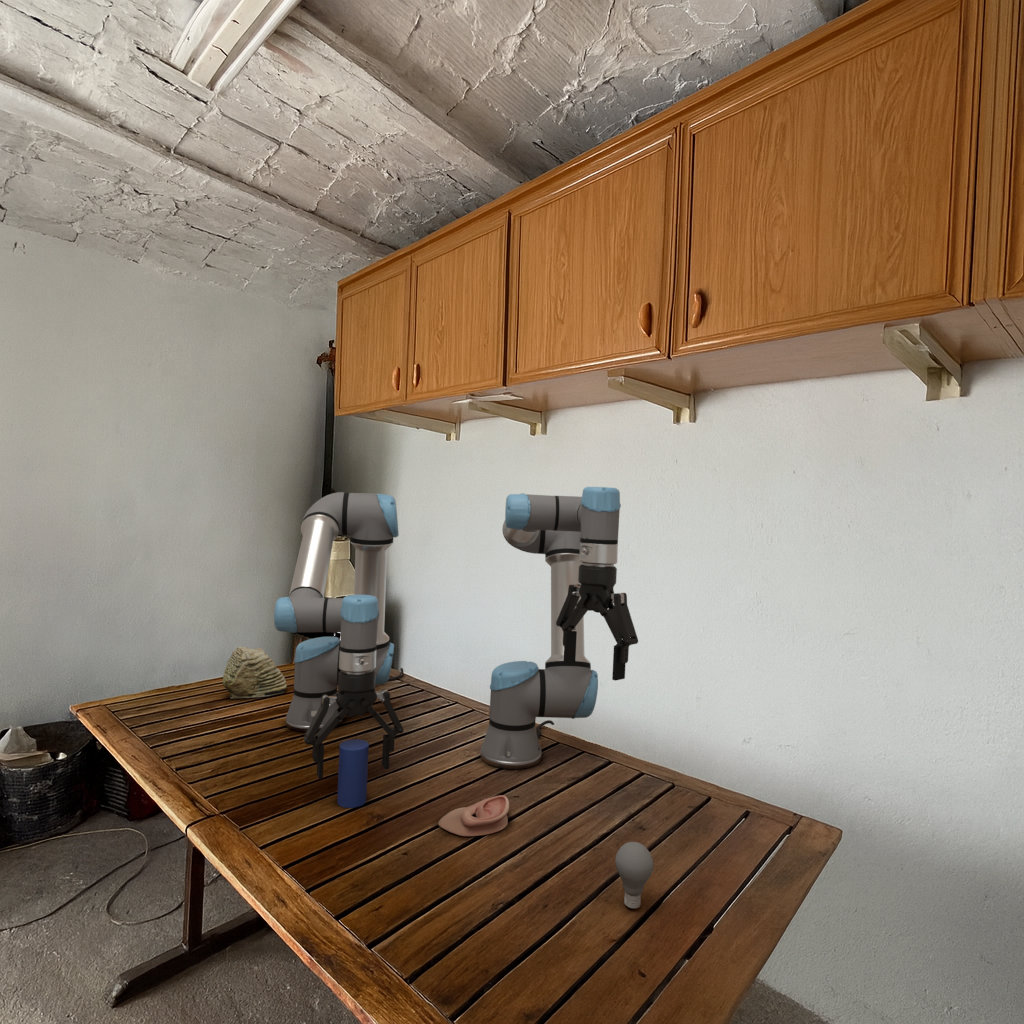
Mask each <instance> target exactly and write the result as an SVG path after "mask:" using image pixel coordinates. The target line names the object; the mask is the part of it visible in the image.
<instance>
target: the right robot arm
mask: <svg viewBox="0 0 1024 1024" xmlns="http://www.w3.org/2000/svg"><path fill="white" fill-rule="evenodd" d="M505 501H506V502H505V508H504V509H505V513H504V520H503V524H502V535H503V538H504V539H505V542H507V544H509V546H511V547H513V548H515V549H517V550H519V551H521V552H524V553H529V554H533V555H535V554H537V555H544V556H545V557H544V558H545V559H544V560H545V563H547V565H548V566H549V567H550V634H551V635H550V645H551V646H550V657H548V659H547V660H546V661H545V663H544V668H539V666H538V664H537V663H536V662H534V661H527V660H516V661H515V660H514V661H508V662H505V663H501V664H499V665H496V667H495V668H493V670H492V672H491V676H490V684H489V689H490V699H489V714H488V717H489V718H488V727H487V730H486V733H485V736H484V739H483V742H482V744H481V746H480V755H479V756H480V759H481V761H483V762H484V763H486V764H487V765H490V766H492V767H495V768H499V769H503V770H504V769H505V770H524V769H529V768H532V767H534V766H537V765H538V764H539V763H541V760H542V747H541V745H540V739H539V737H541V736H542V734H543V733H542V730H541V728H542V727H543V726H545V725H548V724H550V725H551V726H554V725H555V723H554V721H553V720H550V719H547V720H544V721H543V722H541V723H539V724H538V725H537V726H536V719H537V718H551V719H552V718H554V719H555V718H557V719H558V718H559V719H572V720H575V719H585V718H586V719H587V718H589V717H590V716H592V714H593V713H594V710H595V707H596V703H597V697H598V691H599V679H598V678H599V677H598V676H599V675H598V672H597V671H596V670H594V669H592V665H591V664H592V663H591V661H590V660H589V659H588V658H587V657H586V656H585V617H584V616H585V615H586V614H587V613H588V611H589V612H594V613H597V614H598V613H600V614H599V615H600V616H601V617H603V618H604V620H605V623H606V624H607V626H608V628H609V630H610V633H611V635H612V636H613V638H614V640H615V642H616V644H615V645H613V653H612V655H613V657H612V675H611V676H612V677H611V679H612V681H615V682H616V681H620V680H625V679H626V664H628V662H629V653H630V652H629V651H630V646H632V645H636V644H638V643H639V638H638V635H637V632H636V629H635V625H634V622H633V619H632V616H631V612H630V609H629V606H628V595H627V593H626V592H616V593H615V591H614V587H615V585H616V584H617V574H618V573H617V572H618V568H617V567H616V566H615V565H617V564H618V552H619V544H618V543H619V527H620V511H621V493H620V490H619V489H618V488H616V487H606V486H586V487H584V488H583V490H582V494H581V496H574V495H572V496H571V495H547V494H528V493H527V494H526V493H524V492H523V493H510V494H508V495H507V496H506V498H505Z"/></svg>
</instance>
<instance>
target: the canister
mask: <svg viewBox="0 0 1024 1024" xmlns="http://www.w3.org/2000/svg"><path fill="white" fill-rule="evenodd" d="M369 746H370V744H369V742H368V741H367V740H364V739H358V738H356V739H355V738H354V739H347V740H344V741H342V742H340V743H339V747H338V748H339V749H338V771H337V772H338V773H337V775H338V776H337V798H336V799H337V800H336V802H337V805H338V806H339V807H341V808H345V809H355V808H359V807H361V806H363V805H365V804H366V802H367V800H368V799H367V797H368V796H367V795H368V772H369V771H368V770H369V750H370V749H369V748H370V747H369Z"/></svg>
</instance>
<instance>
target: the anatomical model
mask: <svg viewBox="0 0 1024 1024" xmlns="http://www.w3.org/2000/svg"><path fill="white" fill-rule="evenodd" d="M509 810H510V801H509V798H508V797H507V796H506V795H504V794H502V795H501V794H500V795H495V796H491V797H488V798H485V799H482V800H481V801H478V802H476V803H474V804H472V805H469V806H466V807H464V806H463V807H459V808H455V809H453V810H450V811H449V812H447V813H446V814H445V815H444V816H442V817H441V818H440V819H439V821H438V822H437V825H438V826H439V827H440V828H442V829H443V830H445V831H447V832H448V833H451V834H454V835H457V836H460V837H478V836H485V835H490V834H495V833H497V832H500V831H502V830H504V829H505V828H506V827H507V826H508V824H509V823H508V822H509V821H508V820H509V819H508V813H509Z"/></svg>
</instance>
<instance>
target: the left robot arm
mask: <svg viewBox="0 0 1024 1024" xmlns="http://www.w3.org/2000/svg"><path fill="white" fill-rule="evenodd" d="M300 533H301V536H302V537H301V541H300V546H299V551H298V556H297V560H296V564H295V568H294V572H293V576H292V577H293V578H292V581H291V585H290V590H289V592H288V593H289V594H288V596H284V597H279V598H277V600H276V602H275V604H274V605H275V606H274V611H273V623H274V628H275V630H276V631H278V632H283V633H284V632H285V633H294V634H297V633H339V634H340V635H339V636H340V638H339V637H337V636H320V637H314V638H310V639H306V640H303V641H302V642H299V643H298V645H296V648H295V655H294V660H293V663H294V672H293V673H294V674H293V675H294V679H293V695H292V696H293V697H292V699H291V702H290V704H289V708H288V711H287V713H286V715H285V726H286V728H287V729H289V730H291V731H294V732H295V731H296V732H301V733H305V734H304V736H303V741H304V743H305V745H306V746H312V751H311V752H312V753H311V759H312V760H313V763H316V776H317V778H318V780H323V779H324V758H325V745H324V743H323V742H324V741H325V740H326V739H327V738H328V736H329V735H330V734H331V733H332V732H333V730H334V729H335V728H337V727H339V726H340V725H342V723H343V722H344V718H345V717H346V716H348V717H349V718H350V717H356V716H365V715H366V714H367V713H369V715H370V716H371V717H372V718H373V719H374V721H375V722H377V724H378V725H379V726H380V727H381V728H382V729H383V730H384V731H385V734H383V735H382V755H381V756H382V758H381V766H382V767H383V769H384V770H389V769H390V753H392V752H394V750H395V739H396V737H397V735H399V734H403V733H404V728H403V725H402V723H401V721H400V719H399V717H398V715H397V712H396V710H395V709H394V706H393V705H392V702H391V693H390V691H389V690H388V689H386V688H383V689H382V690H381V691H376V686H383V685H385V684H387V683H388V682H390V681H394V680H397V679H400V678H401V677H403V675H404V667H401V668H399V671H400V674H398V675H396V676H392V677H390V675H391V670H392V665H393V658H394V653H395V652H394V651H395V643H392V642H390V636H389V635H388V634H387V633H386V632H385V620H386V619H385V617H386V614H385V613H386V593H387V592H386V590H387V567H388V564H387V563H388V549H389V548H390V547H391V546H392V545H393V544H394V538H398V537H399V535H400V534H399V533H400V532H399V521H398V511H397V501H396V499H395V497H394V496H393V495H390V494H386V493H385V494H384V493H374V492H372V493H371V492H369V493H367V492H343V491H339V492H333V493H330V494H326V495H325V496H323V497H321V498H320V499H318V500H317V501H315V503H313V504H312V505H311V506H310V507H309V508H308V509H307V511H306V512H305V514H304V516H303V518H302V521H301V524H300ZM338 536H350V537H349V541H350V542H349V543H350V544H351V545H352V546H353V547H354V549H355V553H354V555H355V558H354V584H353V585H354V586H353V594H349V595H346V596H344V597H343V598H342V597H325V592H326V585H327V580H328V574H329V568H330V561H331V557H332V551H333V550H332V549H333V545H334V541H335V540H336V539H338ZM401 674H402V675H401ZM377 699H378V700H379V701H380V702H381V703H382V704H383V706H384V708H385V710H386V712H387V715H388V716H389V719H390V720H391V723H392V725H393V727H391V726H390V725H389V723H387V722H386V720H385V719H384V718H383V717H382V716H381V715H380V714H379V712H377V710H376V709H375V708H374V706H373V705H374V704H375V702H376V701H377Z"/></svg>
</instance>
